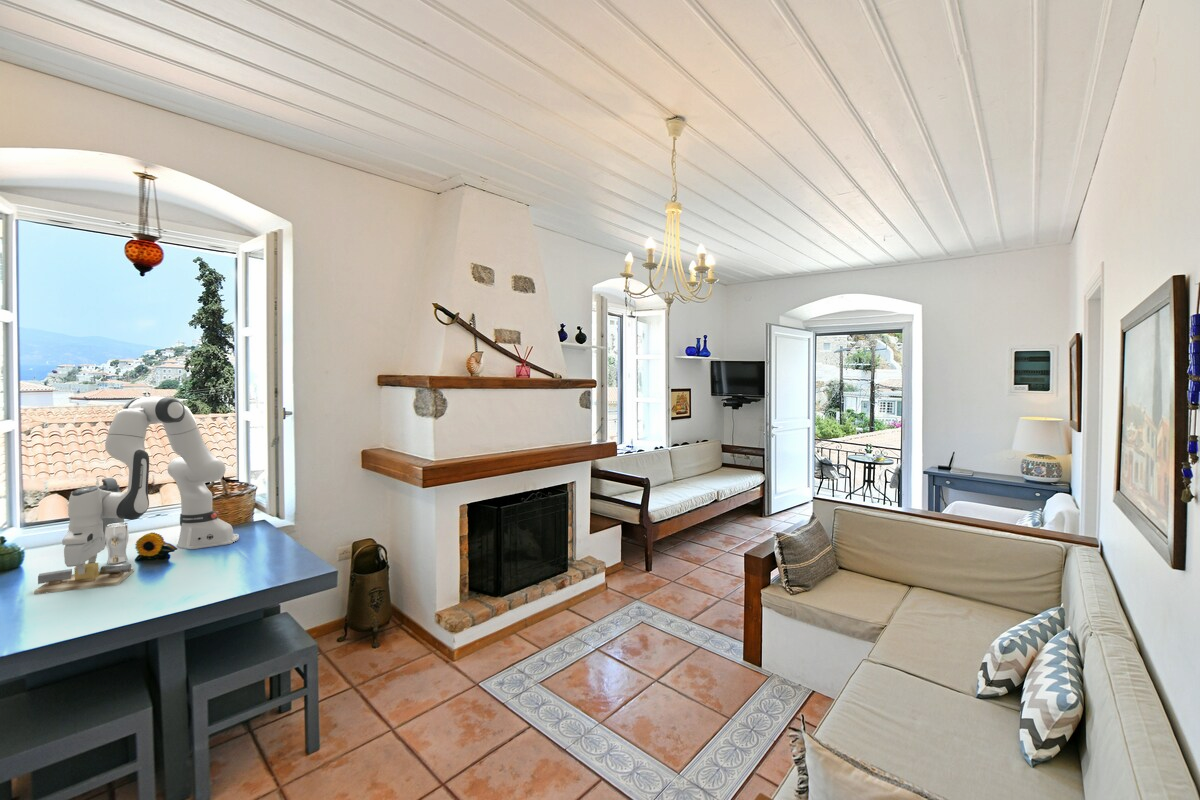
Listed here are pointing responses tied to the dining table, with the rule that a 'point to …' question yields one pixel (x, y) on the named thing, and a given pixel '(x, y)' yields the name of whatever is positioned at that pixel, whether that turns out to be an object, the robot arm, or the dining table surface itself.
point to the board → (83, 582)
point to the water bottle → (111, 486)
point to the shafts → (68, 573)
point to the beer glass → (116, 542)
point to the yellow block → (88, 571)
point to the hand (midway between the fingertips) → (86, 570)
